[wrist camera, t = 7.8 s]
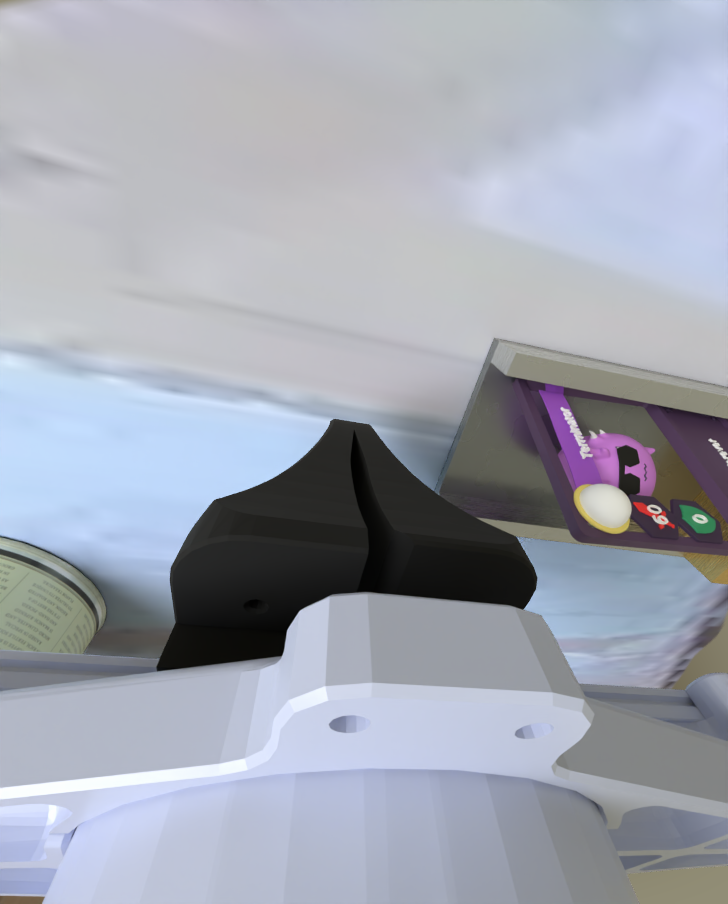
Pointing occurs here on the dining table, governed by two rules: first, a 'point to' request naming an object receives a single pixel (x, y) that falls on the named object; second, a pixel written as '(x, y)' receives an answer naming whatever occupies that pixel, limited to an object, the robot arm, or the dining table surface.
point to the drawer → (518, 461)
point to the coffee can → (45, 602)
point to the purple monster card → (630, 474)
